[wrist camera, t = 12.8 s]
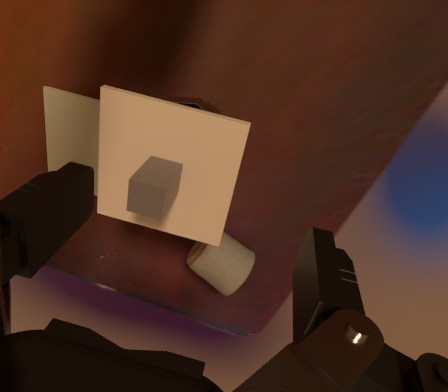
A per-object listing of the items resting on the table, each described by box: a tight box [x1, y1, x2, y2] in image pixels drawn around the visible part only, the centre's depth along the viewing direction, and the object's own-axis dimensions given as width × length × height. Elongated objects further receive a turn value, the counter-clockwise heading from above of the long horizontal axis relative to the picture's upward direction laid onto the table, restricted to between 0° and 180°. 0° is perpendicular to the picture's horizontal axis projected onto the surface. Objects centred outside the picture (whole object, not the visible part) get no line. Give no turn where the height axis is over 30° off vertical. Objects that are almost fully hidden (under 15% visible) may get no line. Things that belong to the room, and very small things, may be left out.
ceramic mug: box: [186, 232, 255, 296], centre depth 52 cm, size 11×8×8 cm
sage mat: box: [43, 86, 100, 196], centre depth 50 cm, size 15×15×1 cm
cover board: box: [97, 85, 251, 247], centre depth 30 cm, size 13×13×6 cm
